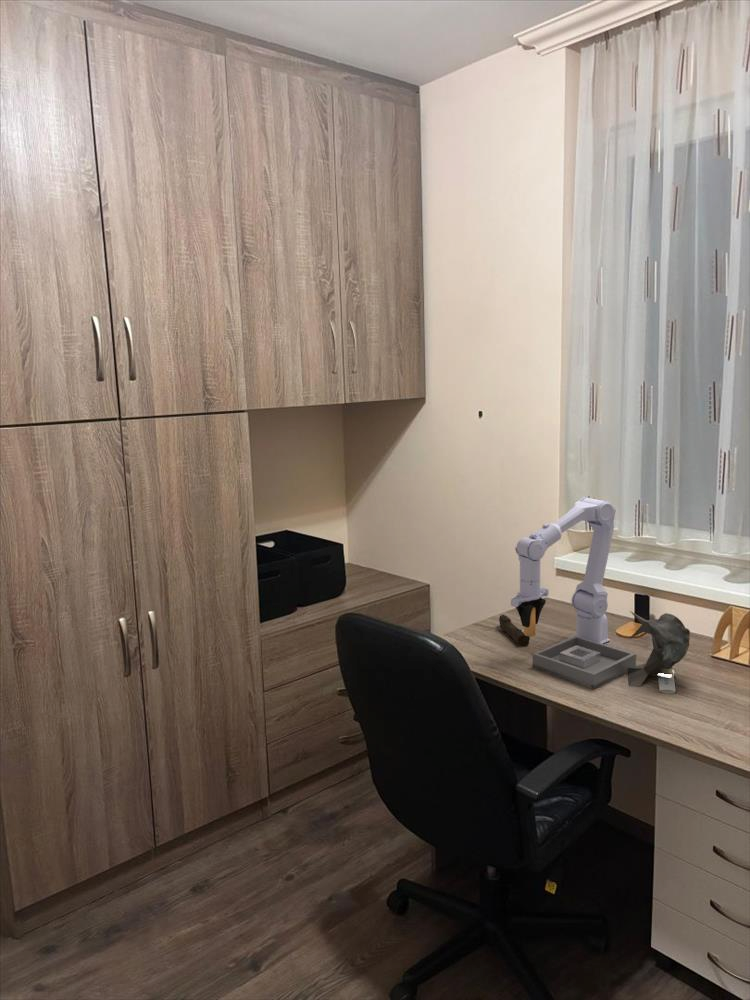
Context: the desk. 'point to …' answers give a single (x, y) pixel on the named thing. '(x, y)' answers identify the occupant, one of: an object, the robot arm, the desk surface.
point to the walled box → (592, 676)
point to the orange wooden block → (531, 624)
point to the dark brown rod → (513, 631)
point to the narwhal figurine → (660, 647)
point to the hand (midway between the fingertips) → (529, 624)
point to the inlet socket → (580, 657)
